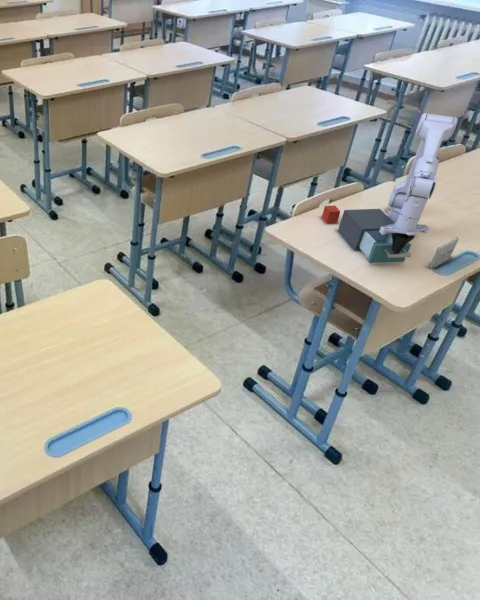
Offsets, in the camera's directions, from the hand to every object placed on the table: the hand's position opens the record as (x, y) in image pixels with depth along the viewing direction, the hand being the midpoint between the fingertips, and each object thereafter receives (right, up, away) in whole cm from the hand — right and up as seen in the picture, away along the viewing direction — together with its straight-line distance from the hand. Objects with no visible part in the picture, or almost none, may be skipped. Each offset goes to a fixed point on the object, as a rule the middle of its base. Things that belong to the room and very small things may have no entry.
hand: (395, 251), depth 178 cm
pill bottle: (+19, +18, +34) cm, 43 cm away
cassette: (+18, -3, +6) cm, 20 cm away
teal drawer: (0, -1, +8) cm, 8 cm away
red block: (-8, +14, +29) cm, 34 cm away
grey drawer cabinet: (-1, +6, +18) cm, 19 cm away
